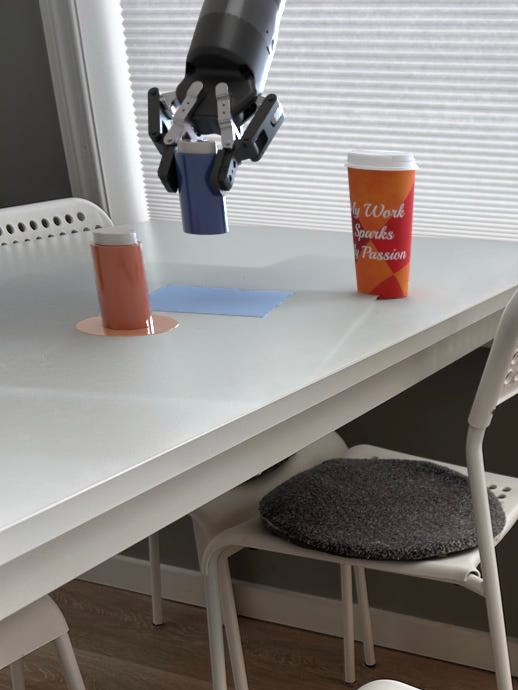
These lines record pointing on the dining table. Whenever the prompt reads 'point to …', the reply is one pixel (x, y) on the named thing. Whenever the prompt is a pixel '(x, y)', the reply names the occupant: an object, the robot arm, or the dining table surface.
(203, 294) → the blue mat
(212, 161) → the blue shaker
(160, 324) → the terracotta coaster
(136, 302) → the red shaker
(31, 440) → the dining table surface
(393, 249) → the paper cup
